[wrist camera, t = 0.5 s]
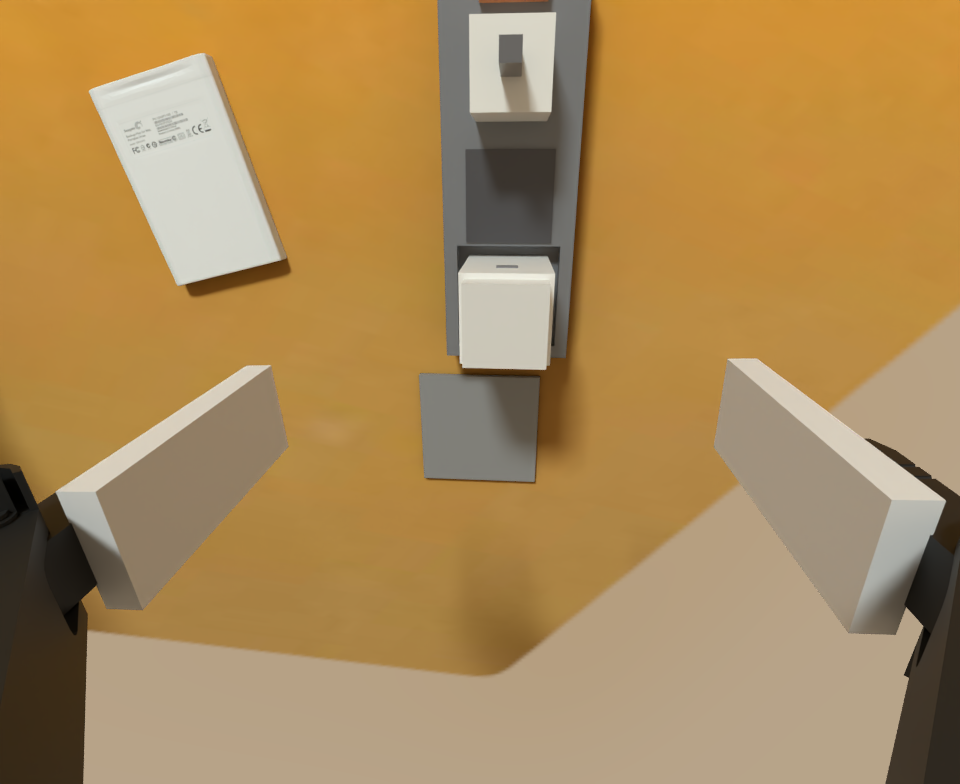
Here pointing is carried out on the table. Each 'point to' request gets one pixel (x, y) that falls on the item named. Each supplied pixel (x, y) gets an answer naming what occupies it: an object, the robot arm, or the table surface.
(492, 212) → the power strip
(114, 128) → the external hard drive
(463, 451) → the mat
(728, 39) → the table surface
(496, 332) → the block
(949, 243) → the table surface
